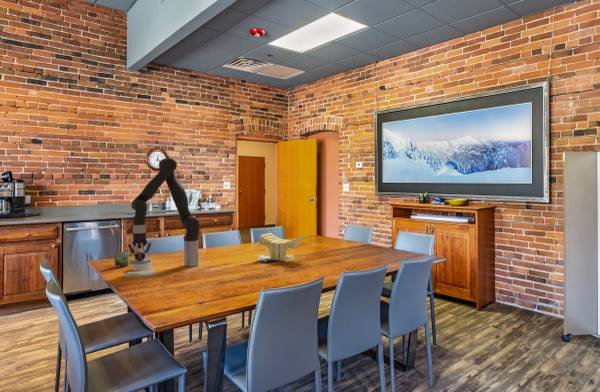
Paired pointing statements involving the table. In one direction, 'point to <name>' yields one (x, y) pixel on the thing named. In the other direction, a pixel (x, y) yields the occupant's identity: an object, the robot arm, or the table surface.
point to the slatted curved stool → (279, 246)
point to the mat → (140, 273)
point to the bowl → (142, 267)
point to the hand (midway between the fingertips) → (140, 259)
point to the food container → (121, 259)
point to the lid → (140, 259)
